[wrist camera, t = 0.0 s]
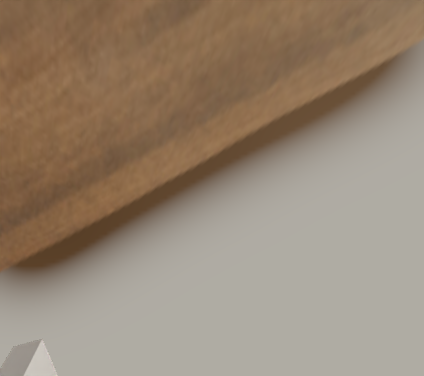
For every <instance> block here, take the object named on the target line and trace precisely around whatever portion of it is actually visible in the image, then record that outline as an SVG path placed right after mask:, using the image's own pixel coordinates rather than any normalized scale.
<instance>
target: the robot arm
mask: <svg viewBox="0 0 424 376" xmlns="http://www.w3.org/2000/svg"><path fill="white" fill-rule="evenodd" d="M0 376H58V375H57V373H56V370H55V368H54V366H53V363H52V361H51V358H50V356H49V354H48V351H47V349H46V347H45V344H44V342H43V340H42V339H40V340H37V341H33V342H29V343H26V344H22V345H18V346H14V347H13V348H12V350H11V351H10V353H9V355H8V356H7V358H6V360H5V362H4V363H3V365H2V366H1V368H0Z"/></svg>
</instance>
